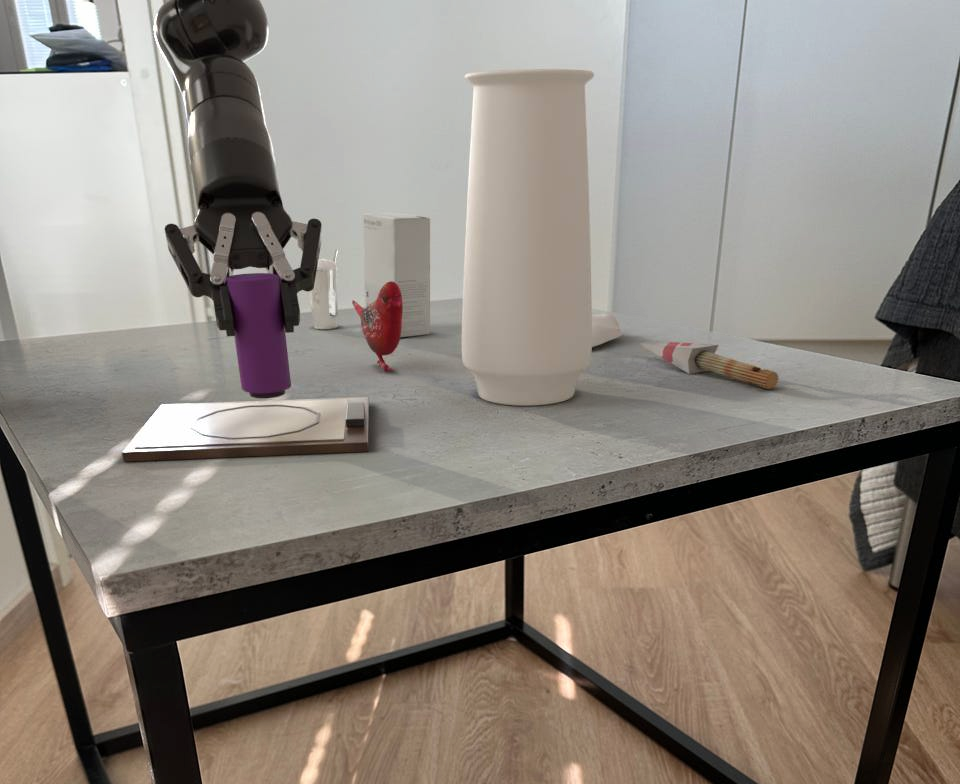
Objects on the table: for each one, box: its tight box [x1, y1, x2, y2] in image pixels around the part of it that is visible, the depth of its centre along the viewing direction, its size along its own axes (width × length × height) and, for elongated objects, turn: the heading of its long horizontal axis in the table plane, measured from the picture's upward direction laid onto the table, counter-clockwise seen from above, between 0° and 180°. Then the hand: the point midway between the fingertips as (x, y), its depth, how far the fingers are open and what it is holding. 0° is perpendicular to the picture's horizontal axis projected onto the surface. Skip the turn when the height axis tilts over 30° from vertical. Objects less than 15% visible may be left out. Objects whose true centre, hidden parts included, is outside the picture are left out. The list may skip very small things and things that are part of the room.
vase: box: [461, 68, 595, 407], centre depth 88 cm, size 13×13×28 cm
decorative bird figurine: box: [351, 281, 403, 372], centre depth 105 cm, size 3×18×10 cm, turn 24°
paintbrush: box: [639, 340, 779, 390], centre depth 102 cm, size 4×3×20 cm
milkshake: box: [308, 249, 339, 330], centre depth 129 cm, size 4×5×10 cm
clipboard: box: [121, 396, 370, 463], centre depth 83 cm, size 20×16×2 cm
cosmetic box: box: [362, 212, 431, 338], centre depth 123 cm, size 8×6×15 cm
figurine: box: [592, 310, 624, 348], centre depth 116 cm, size 20×18×16 cm
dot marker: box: [226, 272, 292, 399], centre depth 81 cm, size 4×4×10 cm
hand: (260, 328), depth 79 cm, fingers closed on dot marker, 4 cm apart
